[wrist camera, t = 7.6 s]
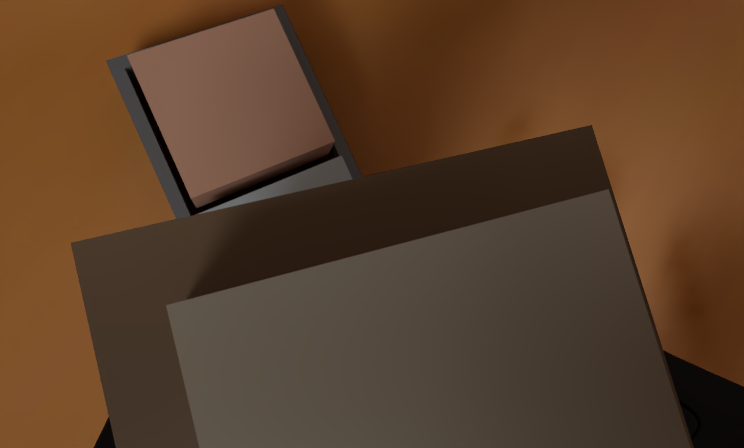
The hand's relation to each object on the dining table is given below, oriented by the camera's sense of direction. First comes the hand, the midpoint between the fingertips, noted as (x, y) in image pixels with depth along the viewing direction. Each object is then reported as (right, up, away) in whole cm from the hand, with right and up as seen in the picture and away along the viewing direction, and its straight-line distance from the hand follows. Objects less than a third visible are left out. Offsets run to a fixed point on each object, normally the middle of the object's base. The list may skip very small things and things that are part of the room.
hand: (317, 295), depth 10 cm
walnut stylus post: (-1, -2, +6) cm, 7 cm away
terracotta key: (-5, +5, +12) cm, 14 cm away
